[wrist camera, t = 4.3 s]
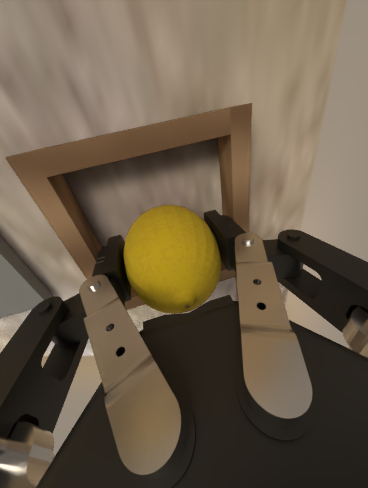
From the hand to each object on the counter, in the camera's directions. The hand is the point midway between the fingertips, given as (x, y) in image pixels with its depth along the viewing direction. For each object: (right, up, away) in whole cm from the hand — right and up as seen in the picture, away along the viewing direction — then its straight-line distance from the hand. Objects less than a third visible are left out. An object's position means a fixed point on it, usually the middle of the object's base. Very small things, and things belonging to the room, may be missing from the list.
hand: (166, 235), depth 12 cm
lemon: (0, +1, +2) cm, 3 cm away
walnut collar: (-1, +1, +2) cm, 2 cm away
